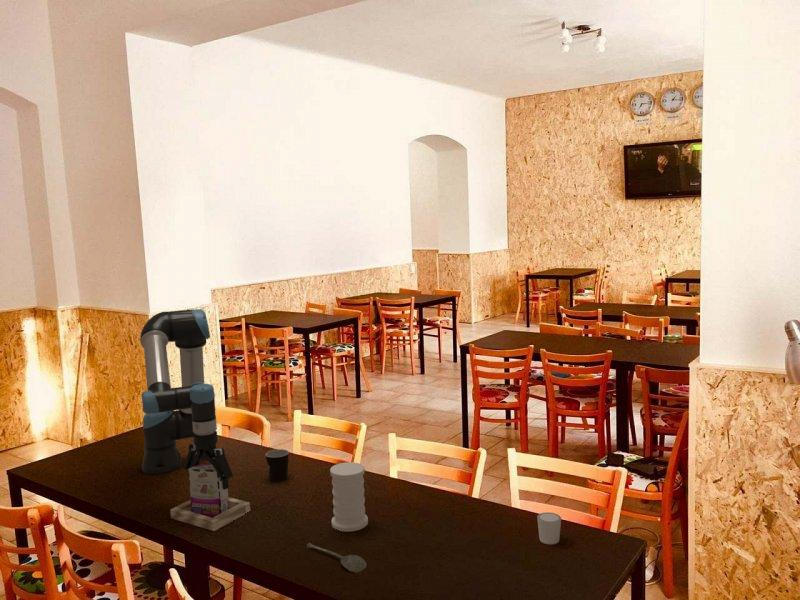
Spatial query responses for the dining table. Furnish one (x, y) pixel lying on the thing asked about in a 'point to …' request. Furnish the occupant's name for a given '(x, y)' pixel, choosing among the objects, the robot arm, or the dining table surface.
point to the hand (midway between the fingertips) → (209, 494)
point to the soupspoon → (346, 560)
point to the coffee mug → (277, 464)
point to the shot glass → (549, 527)
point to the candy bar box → (206, 491)
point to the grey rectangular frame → (187, 516)
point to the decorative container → (348, 497)
